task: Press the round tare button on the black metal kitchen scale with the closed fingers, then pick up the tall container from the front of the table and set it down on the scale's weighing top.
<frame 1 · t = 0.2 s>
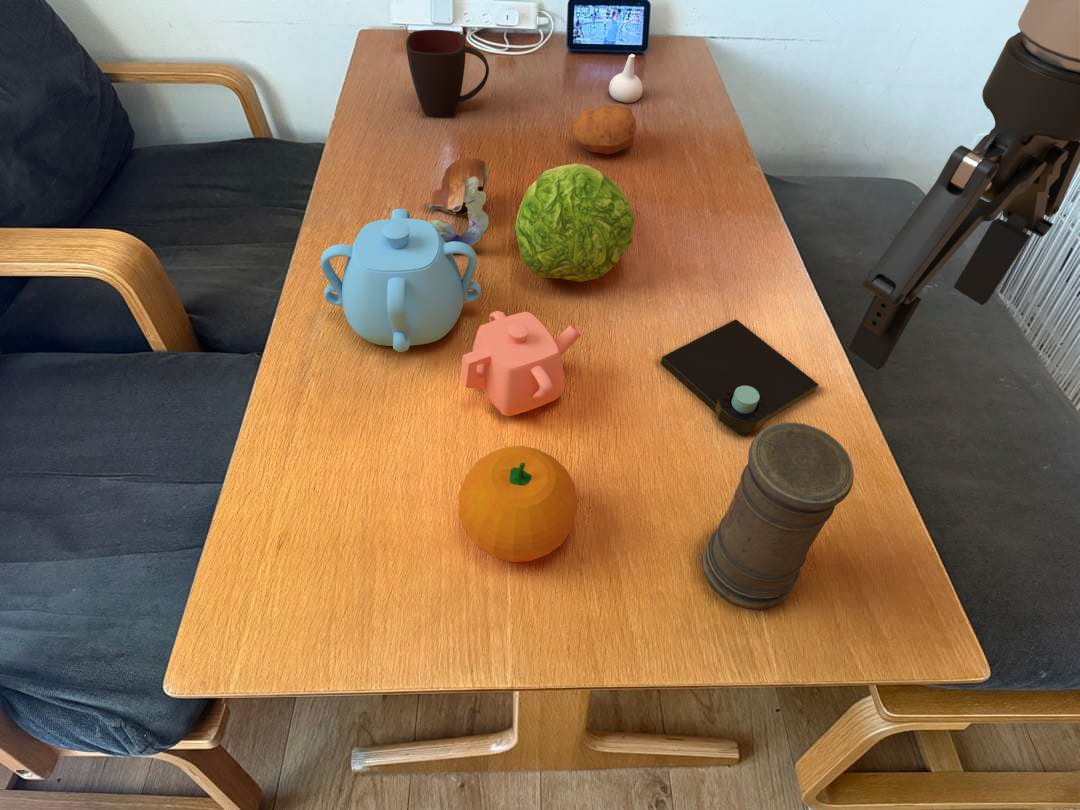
hand: (920, 325, 58), 27 cm above the table, tool pointing down, fingers open, 13 cm apart
fruit: (517, 524, 75), on the table
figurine: (453, 227, 109), on the table
potato: (601, 150, 126), on the table
teapot: (523, 391, 88), on the table
scale: (737, 377, 91), on the table
tare button: (745, 399, 83), point 4 cm above the table, slide at 0.2 cm
decorative pot: (406, 318, 95), on the table
mug: (450, 111, 133), on the table
lettuce: (569, 247, 107), on the table
garlic bulb: (624, 98, 139), on the table
container: (746, 570, 73), on the table
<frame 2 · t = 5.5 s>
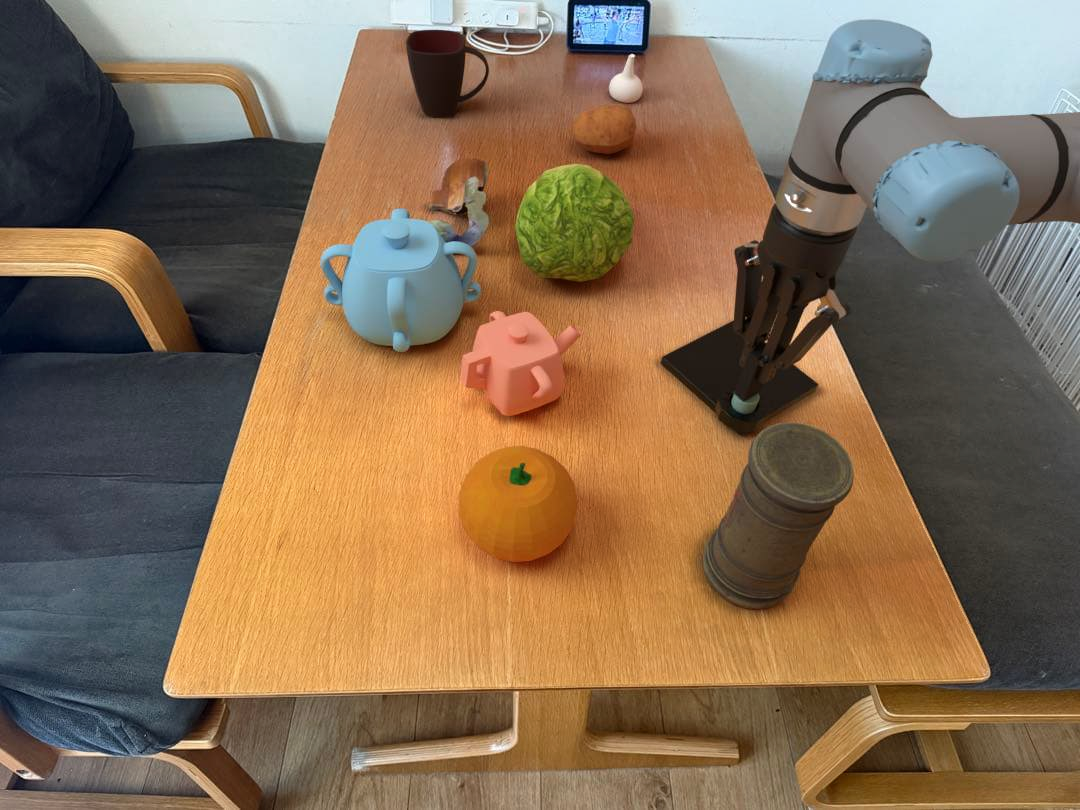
hand: (747, 392, 83), 5 cm above the table, tool pointing down, fingers closed
tare button: (745, 400, 83), point 3 cm above the table, slide at 0.1 cm, touching gripper
everything else where it was.
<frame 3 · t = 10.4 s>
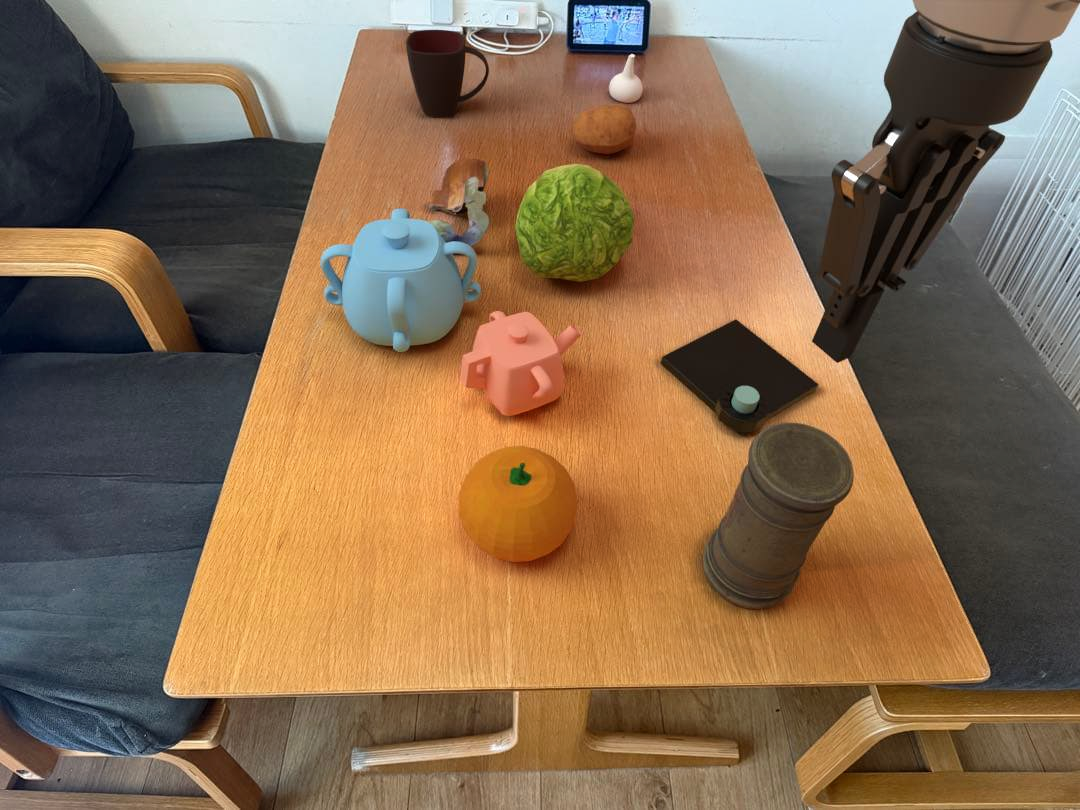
hand: (831, 348, 56), 26 cm above the table, tool pointing down, fingers closed
tare button: (745, 399, 83), point 4 cm above the table, slide at 0.1 cm
everything else where it was.
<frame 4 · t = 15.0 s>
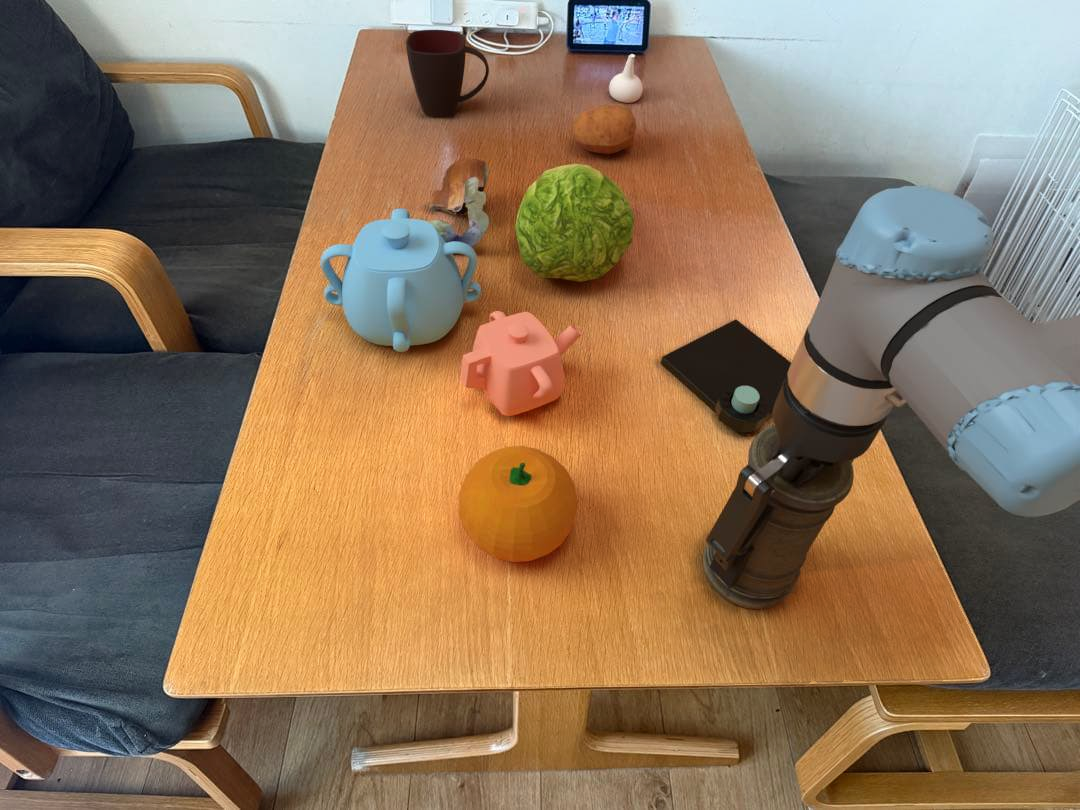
hand: (755, 552, 70), 3 cm above the table, tool pointing down, fingers closed on container, 8 cm apart
container: (746, 570, 73), on the table, touching gripper
everything else where it was.
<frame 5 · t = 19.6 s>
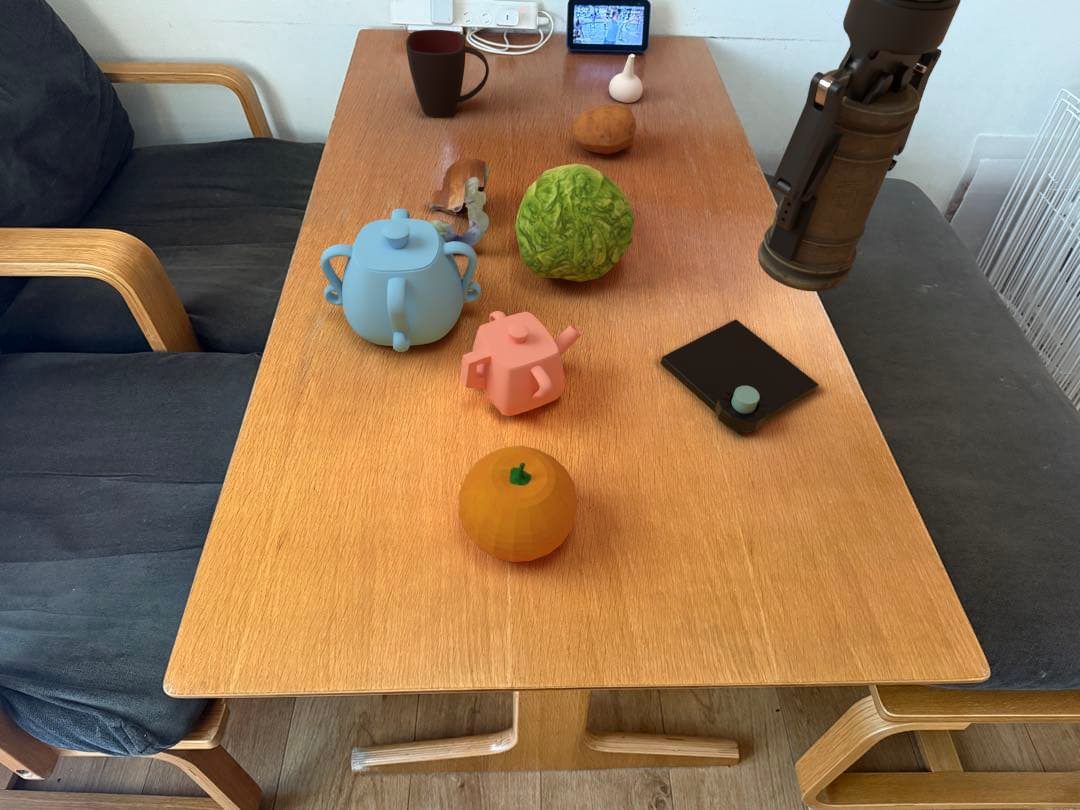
hand: (812, 238, 71), 23 cm above the table, tool pointing down, fingers closed on container, 8 cm apart
container: (801, 266, 74), point 20 cm above the table, touching gripper
everything else where it was.
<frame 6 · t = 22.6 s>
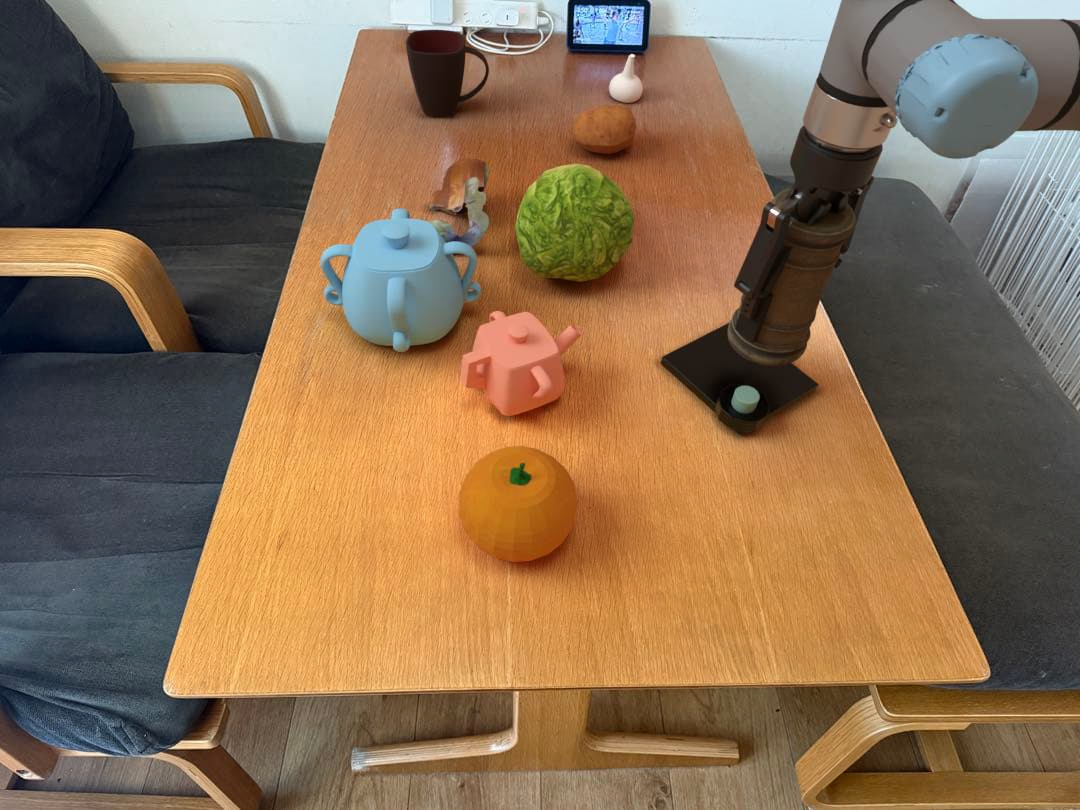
hand: (772, 320, 84), 9 cm above the table, tool pointing down, fingers closed on container, 8 cm apart
container: (764, 342, 86), point 6 cm above the table, touching gripper
everything else where it was.
when the fingers open (4 cm above the table, at t = 24.5 s): container stays where it is, resting on scale.
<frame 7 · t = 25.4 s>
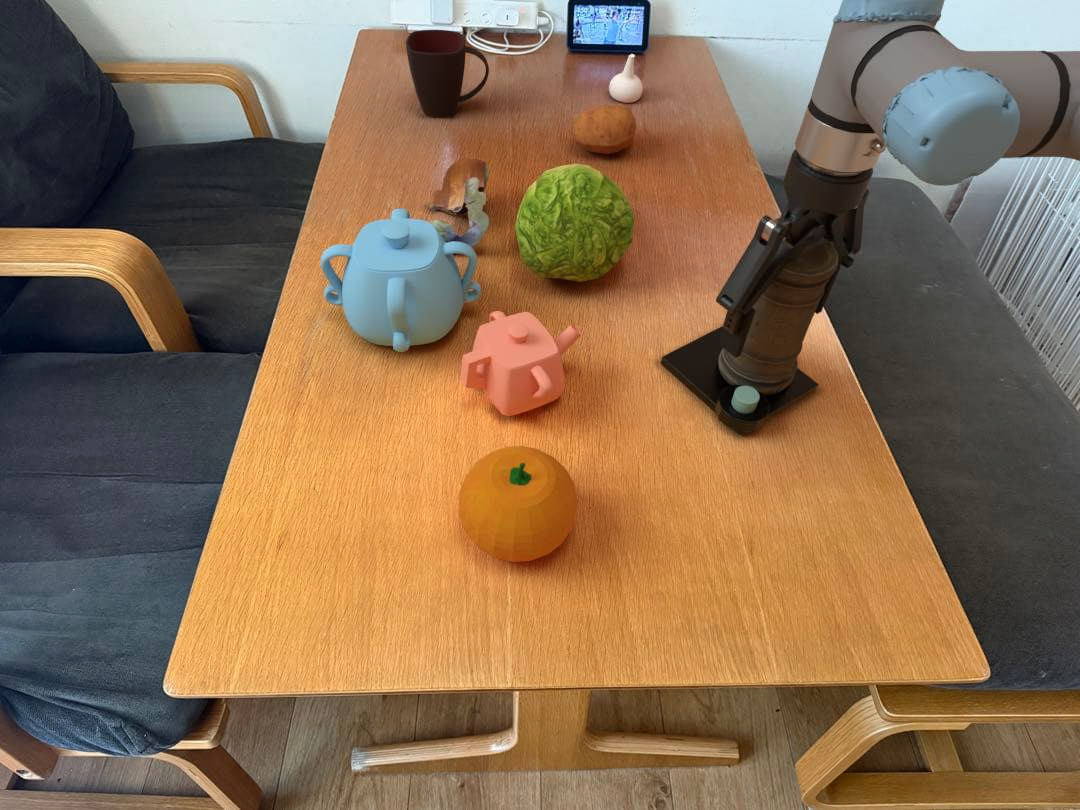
hand: (771, 327, 84), 8 cm above the table, tool pointing down, fingers open, 13 cm apart
container: (753, 371, 90), point 1 cm above the table, touching scale
everything else where it was.
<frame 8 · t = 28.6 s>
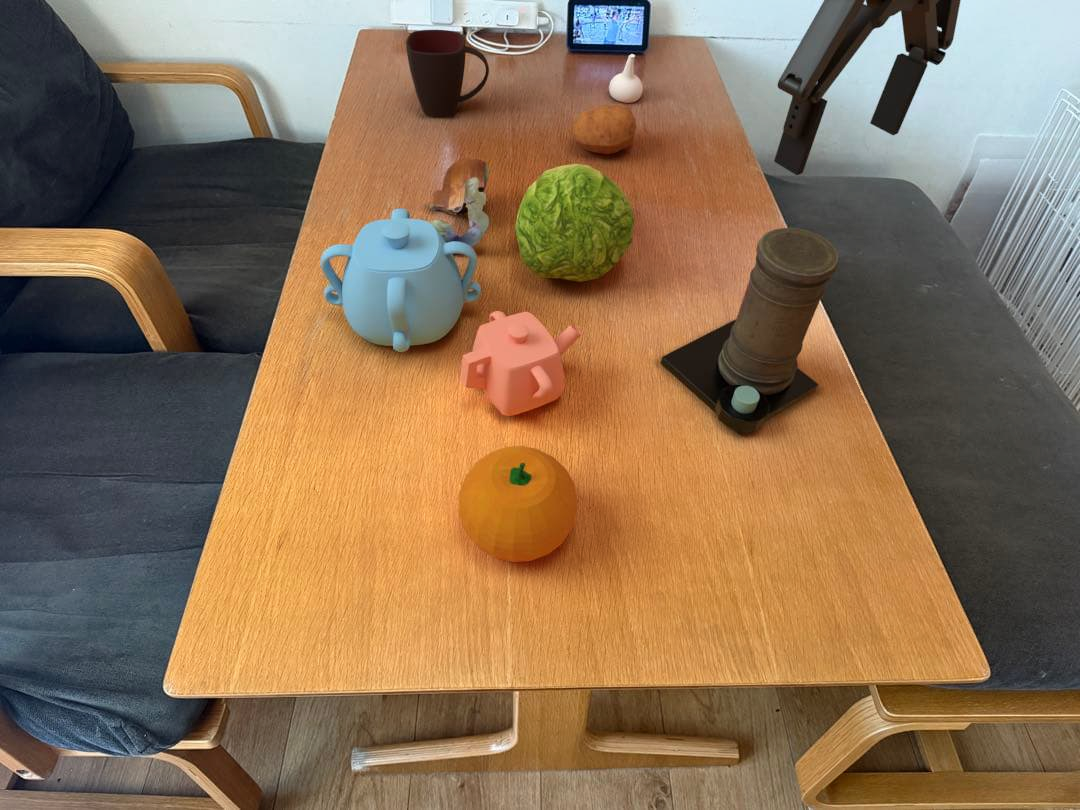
hand: (837, 147, 68), 31 cm above the table, tool pointing down, fingers open, 13 cm apart
nothing on the table moved.
at the end: tare button pushed in 1.0 cm at the most during the clip, back to where it started at the end; container 0.1 cm from the target spot on the scale, point 1.0 cm above the scale's base; container touching scale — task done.
